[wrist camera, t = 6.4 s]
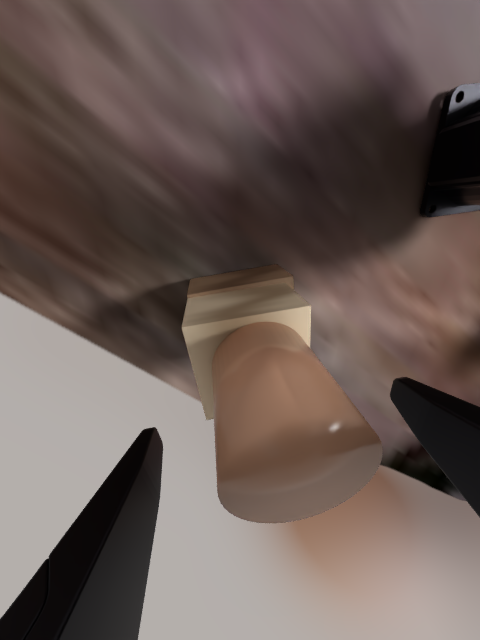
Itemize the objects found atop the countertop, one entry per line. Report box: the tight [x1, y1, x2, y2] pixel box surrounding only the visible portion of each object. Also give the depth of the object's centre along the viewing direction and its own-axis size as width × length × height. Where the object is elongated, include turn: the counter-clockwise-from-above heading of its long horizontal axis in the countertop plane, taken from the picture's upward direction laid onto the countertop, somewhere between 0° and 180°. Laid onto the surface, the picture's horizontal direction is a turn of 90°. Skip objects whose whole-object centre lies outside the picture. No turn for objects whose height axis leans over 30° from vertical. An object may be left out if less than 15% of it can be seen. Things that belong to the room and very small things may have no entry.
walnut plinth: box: [187, 264, 294, 298], centre depth 15 cm, size 6×6×4 cm
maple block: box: [182, 283, 311, 420], centre depth 12 cm, size 6×6×4 cm
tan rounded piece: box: [212, 322, 383, 523], centre depth 8 cm, size 5×5×5 cm
